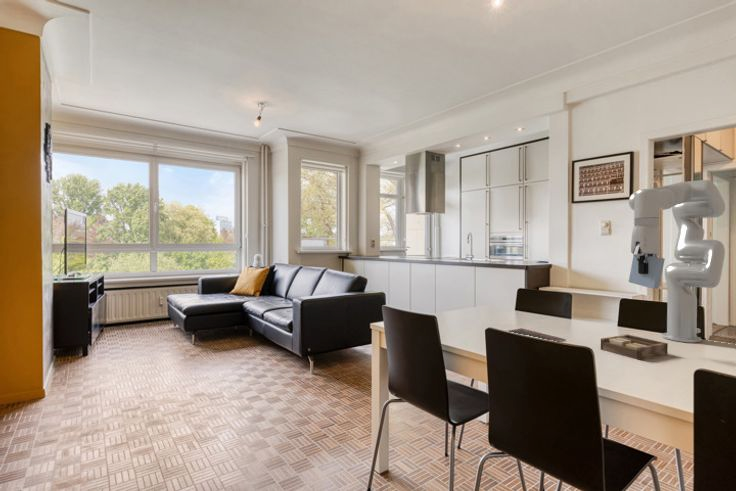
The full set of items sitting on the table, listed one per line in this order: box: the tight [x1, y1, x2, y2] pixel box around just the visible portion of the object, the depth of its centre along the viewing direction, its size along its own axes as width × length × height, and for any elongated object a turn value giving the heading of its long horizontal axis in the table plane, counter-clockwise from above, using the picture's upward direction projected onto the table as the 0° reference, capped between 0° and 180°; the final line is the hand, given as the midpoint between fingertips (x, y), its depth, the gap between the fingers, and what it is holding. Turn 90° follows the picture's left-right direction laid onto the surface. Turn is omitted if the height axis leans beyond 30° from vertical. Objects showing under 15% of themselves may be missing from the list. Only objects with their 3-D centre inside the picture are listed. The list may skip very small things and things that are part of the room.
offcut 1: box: [609, 338, 631, 347], centre depth 142 cm, size 5×5×4 cm
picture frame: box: [507, 327, 566, 343], centre depth 163 cm, size 16×2×22 cm
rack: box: [600, 334, 668, 361], centre depth 141 cm, size 15×14×5 cm
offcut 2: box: [626, 343, 646, 350], centre depth 137 cm, size 5×5×4 cm
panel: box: [628, 255, 666, 290], centre depth 143 cm, size 3×9×11 cm, turn 23°
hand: (646, 273), depth 143 cm, fingers closed on panel, 2 cm apart
